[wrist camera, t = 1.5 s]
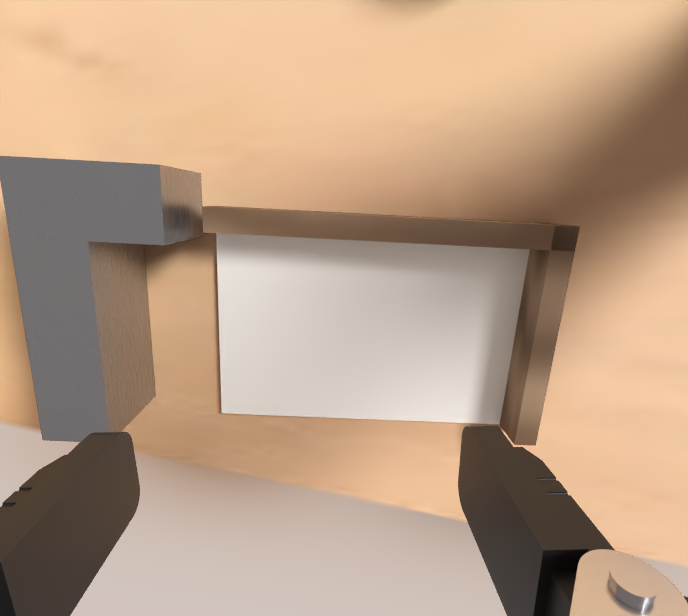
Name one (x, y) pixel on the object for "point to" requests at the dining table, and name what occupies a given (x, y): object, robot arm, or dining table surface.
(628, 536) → the dining table surface
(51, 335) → the bracket
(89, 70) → the dining table surface
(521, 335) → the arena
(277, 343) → the mat
